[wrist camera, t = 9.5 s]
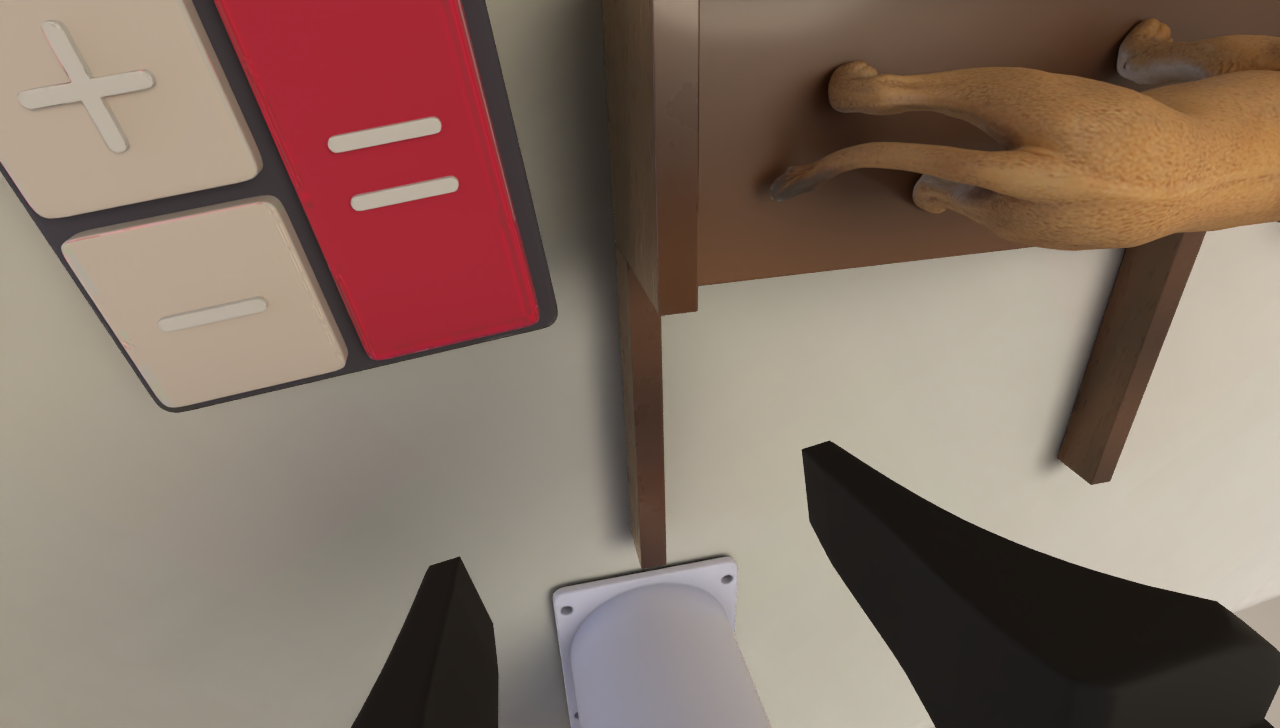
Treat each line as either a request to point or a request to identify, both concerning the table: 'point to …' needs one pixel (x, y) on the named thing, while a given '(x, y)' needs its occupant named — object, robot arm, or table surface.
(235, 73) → the calculator
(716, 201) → the rack
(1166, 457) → the table surface
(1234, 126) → the lion figurine
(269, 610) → the table surface
